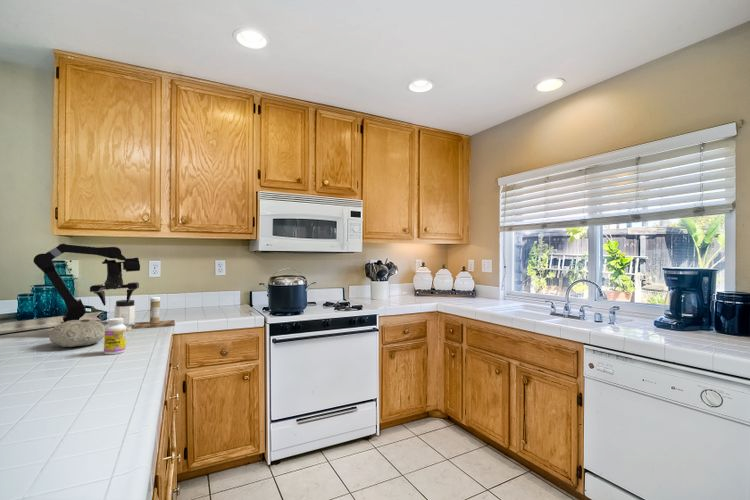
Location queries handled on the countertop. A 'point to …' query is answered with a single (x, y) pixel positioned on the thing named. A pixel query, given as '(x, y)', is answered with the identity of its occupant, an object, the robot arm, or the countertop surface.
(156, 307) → the sprinkles bottle
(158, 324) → the board
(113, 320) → the supplement bottle
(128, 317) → the jar
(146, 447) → the countertop surface
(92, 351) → the countertop surface
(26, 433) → the countertop surface
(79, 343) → the grey rock
